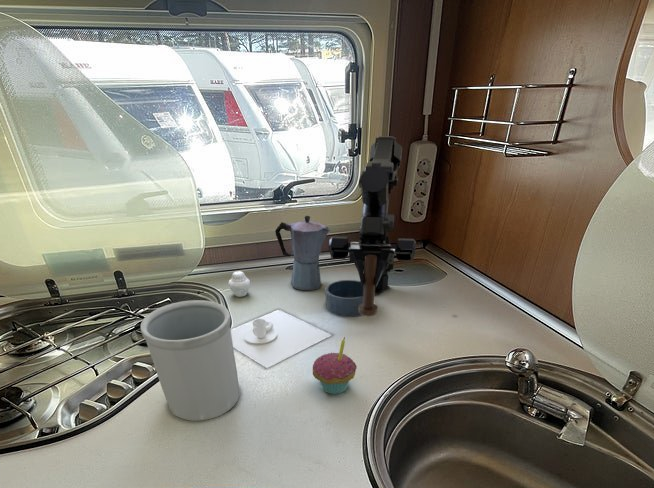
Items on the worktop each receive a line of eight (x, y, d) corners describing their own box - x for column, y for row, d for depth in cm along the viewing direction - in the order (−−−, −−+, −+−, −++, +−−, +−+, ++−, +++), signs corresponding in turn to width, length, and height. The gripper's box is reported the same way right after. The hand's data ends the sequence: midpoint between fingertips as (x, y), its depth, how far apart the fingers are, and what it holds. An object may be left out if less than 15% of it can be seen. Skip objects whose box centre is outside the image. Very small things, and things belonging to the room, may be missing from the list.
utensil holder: (217, 431, 74) (198, 346, 64) (148, 414, 79) (120, 331, 68) (255, 385, 86) (245, 306, 75) (193, 371, 90) (175, 295, 80)
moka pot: (330, 291, 122) (330, 220, 110) (277, 292, 123) (271, 221, 111) (330, 278, 130) (330, 210, 118) (280, 279, 130) (275, 211, 118)
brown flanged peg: (354, 312, 98) (356, 257, 90) (366, 305, 100) (369, 251, 93) (369, 317, 95) (372, 262, 88) (381, 311, 98) (385, 256, 90)
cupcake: (360, 379, 87) (362, 327, 80) (348, 404, 80) (350, 350, 73) (320, 372, 89) (319, 321, 82) (306, 395, 83) (304, 342, 76)
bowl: (316, 306, 114) (316, 289, 111) (346, 293, 121) (346, 276, 118) (350, 321, 107) (351, 303, 104) (380, 305, 114) (381, 288, 111)
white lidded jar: (255, 292, 122) (253, 269, 118) (242, 300, 118) (239, 276, 114) (239, 288, 125) (236, 265, 121) (225, 296, 121) (221, 272, 117)
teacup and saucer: (265, 324, 106) (264, 309, 104) (286, 335, 102) (285, 320, 99) (237, 337, 102) (235, 321, 99) (257, 349, 97) (255, 333, 95)
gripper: (329, 197, 88) (322, 268, 86) (420, 199, 86) (416, 272, 83) (334, 225, 99) (328, 288, 97) (415, 227, 96) (410, 292, 94)
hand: (368, 285), depth 93 cm, fingers closed on brown flanged peg, 2 cm apart
